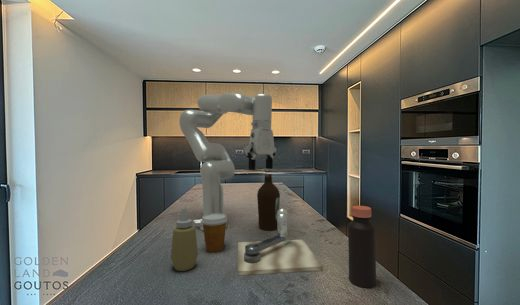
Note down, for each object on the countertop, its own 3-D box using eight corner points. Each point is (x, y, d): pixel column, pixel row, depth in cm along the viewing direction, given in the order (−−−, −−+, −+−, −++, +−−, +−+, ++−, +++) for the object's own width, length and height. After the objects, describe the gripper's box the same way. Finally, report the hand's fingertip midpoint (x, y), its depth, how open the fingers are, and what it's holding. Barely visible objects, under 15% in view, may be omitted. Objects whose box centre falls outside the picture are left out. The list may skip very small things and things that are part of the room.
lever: (251, 257, 72) (251, 219, 72) (242, 252, 76) (242, 216, 76) (290, 240, 86) (290, 208, 86) (281, 237, 89) (280, 206, 89)
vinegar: (382, 285, 62) (381, 209, 62) (360, 290, 60) (359, 211, 60) (363, 273, 69) (363, 204, 69) (343, 277, 67) (342, 205, 67)
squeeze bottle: (183, 276, 68) (182, 213, 68) (165, 269, 72) (164, 210, 72) (203, 264, 75) (203, 207, 75) (186, 259, 79) (185, 205, 79)
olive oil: (255, 230, 107) (254, 175, 107) (259, 223, 118) (259, 173, 118) (278, 231, 105) (278, 175, 105) (281, 224, 116) (280, 173, 116)
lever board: (238, 275, 68) (238, 264, 68) (238, 245, 90) (237, 237, 90) (322, 270, 71) (322, 260, 71) (302, 242, 92) (302, 234, 92)
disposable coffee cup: (218, 241, 94) (217, 211, 94) (233, 248, 87) (232, 216, 87) (196, 248, 87) (196, 216, 87) (210, 256, 81) (210, 221, 81)
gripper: (252, 123, 85) (251, 171, 86) (283, 127, 98) (282, 168, 98) (238, 124, 91) (237, 169, 91) (269, 128, 103) (268, 167, 103)
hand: (260, 169), depth 95 cm, fingers open, 9 cm apart
